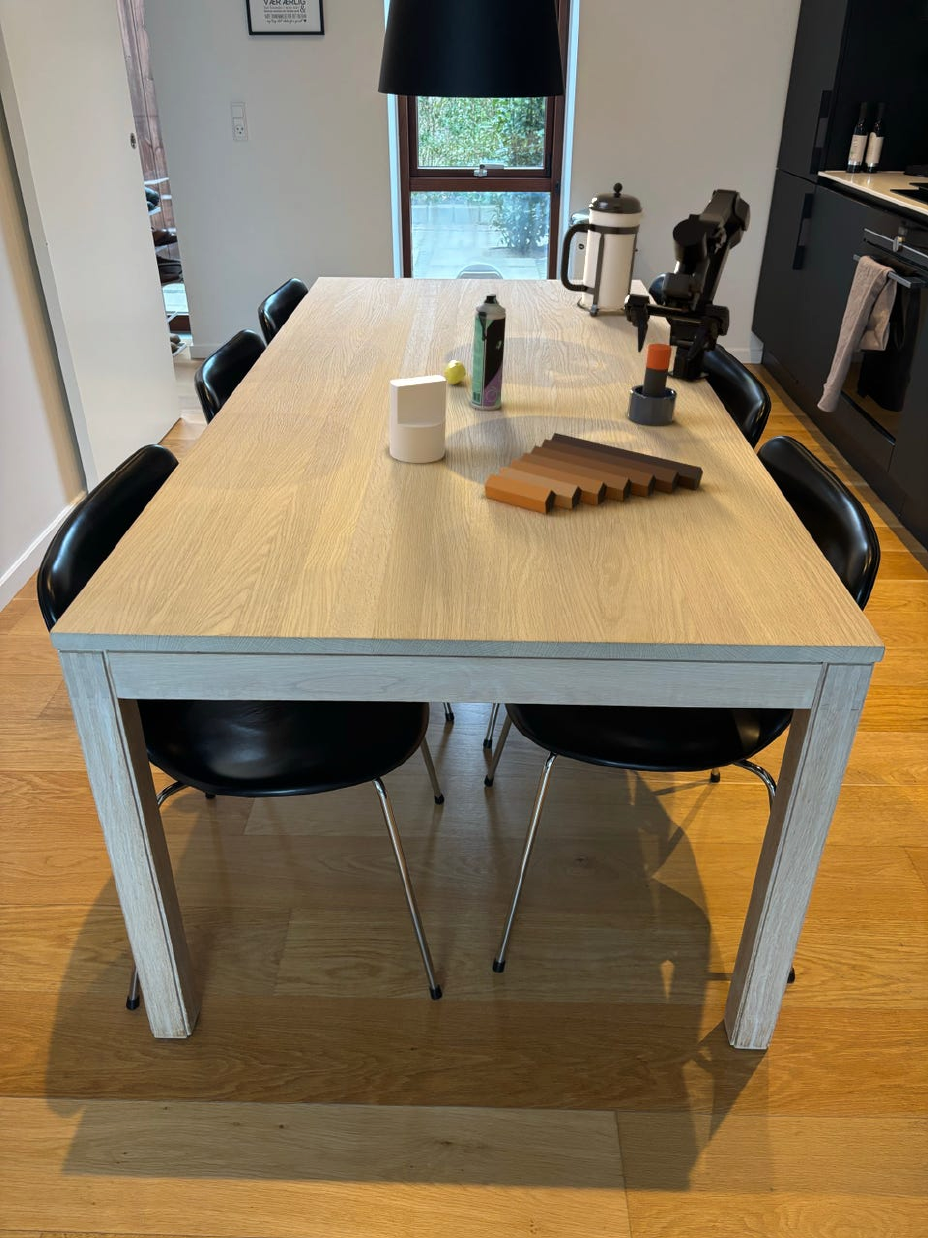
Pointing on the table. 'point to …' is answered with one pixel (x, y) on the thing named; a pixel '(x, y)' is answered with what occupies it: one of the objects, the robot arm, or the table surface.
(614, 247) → the coffee press
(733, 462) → the table surface
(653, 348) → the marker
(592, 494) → the pan flute
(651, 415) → the pen cup
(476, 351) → the spray can
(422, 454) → the base with upright slab
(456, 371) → the yellow potato
